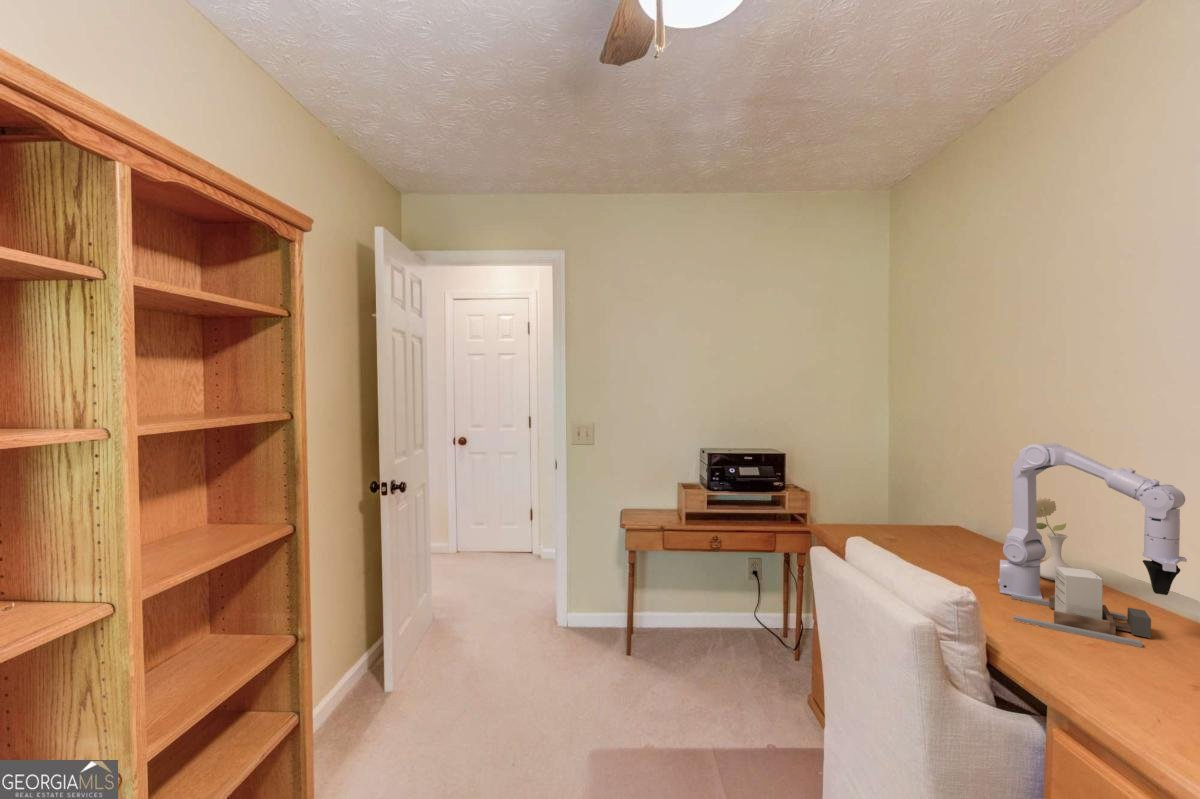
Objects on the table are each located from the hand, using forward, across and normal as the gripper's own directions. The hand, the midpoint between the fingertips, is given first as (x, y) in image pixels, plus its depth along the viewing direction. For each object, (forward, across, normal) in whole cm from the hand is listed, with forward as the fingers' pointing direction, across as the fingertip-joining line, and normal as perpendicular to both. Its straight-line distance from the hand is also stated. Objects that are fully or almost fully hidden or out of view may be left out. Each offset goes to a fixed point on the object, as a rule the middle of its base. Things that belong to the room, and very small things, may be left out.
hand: (1160, 593), depth 125 cm
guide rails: (+10, 0, +16) cm, 19 cm away
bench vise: (+10, 0, +11) cm, 15 cm away
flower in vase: (+11, +36, +16) cm, 41 cm away
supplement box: (+11, 0, +14) cm, 18 cm away
